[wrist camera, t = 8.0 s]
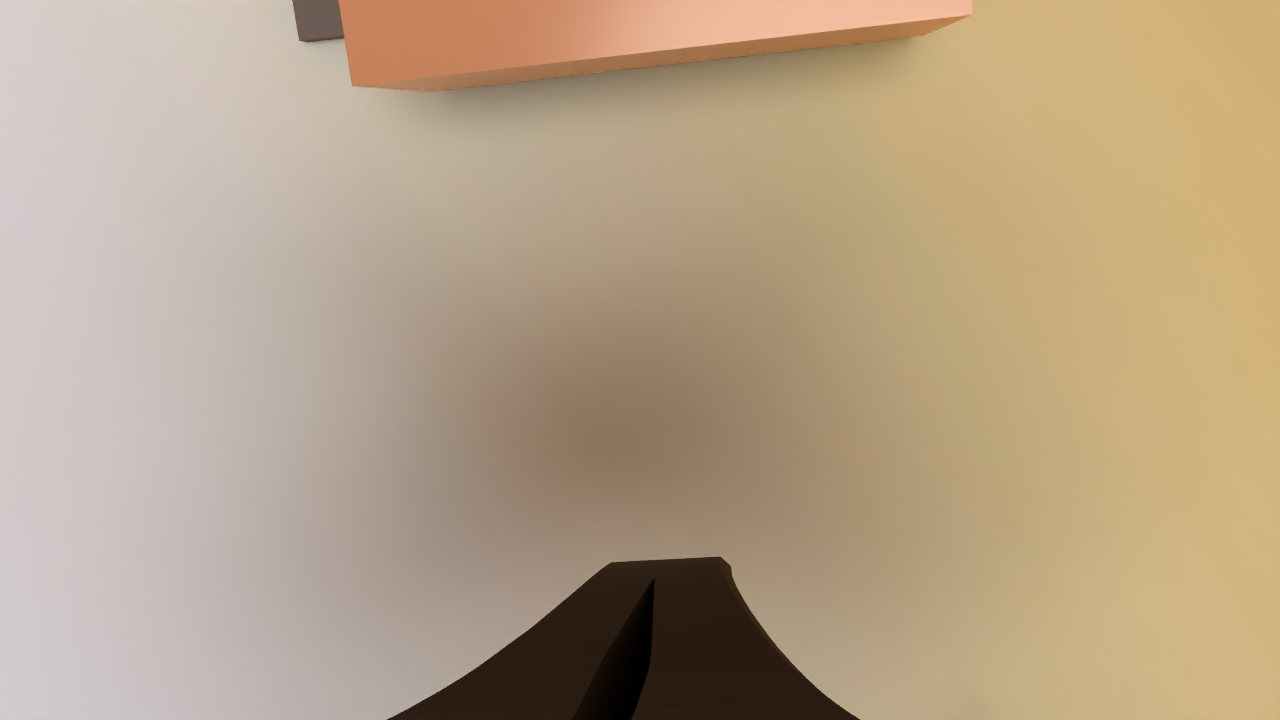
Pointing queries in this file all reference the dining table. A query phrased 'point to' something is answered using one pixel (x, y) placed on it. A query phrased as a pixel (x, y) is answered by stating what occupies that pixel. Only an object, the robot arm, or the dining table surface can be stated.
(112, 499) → the dining table surface
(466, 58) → the orange rectangular block
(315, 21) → the charcoal mat
